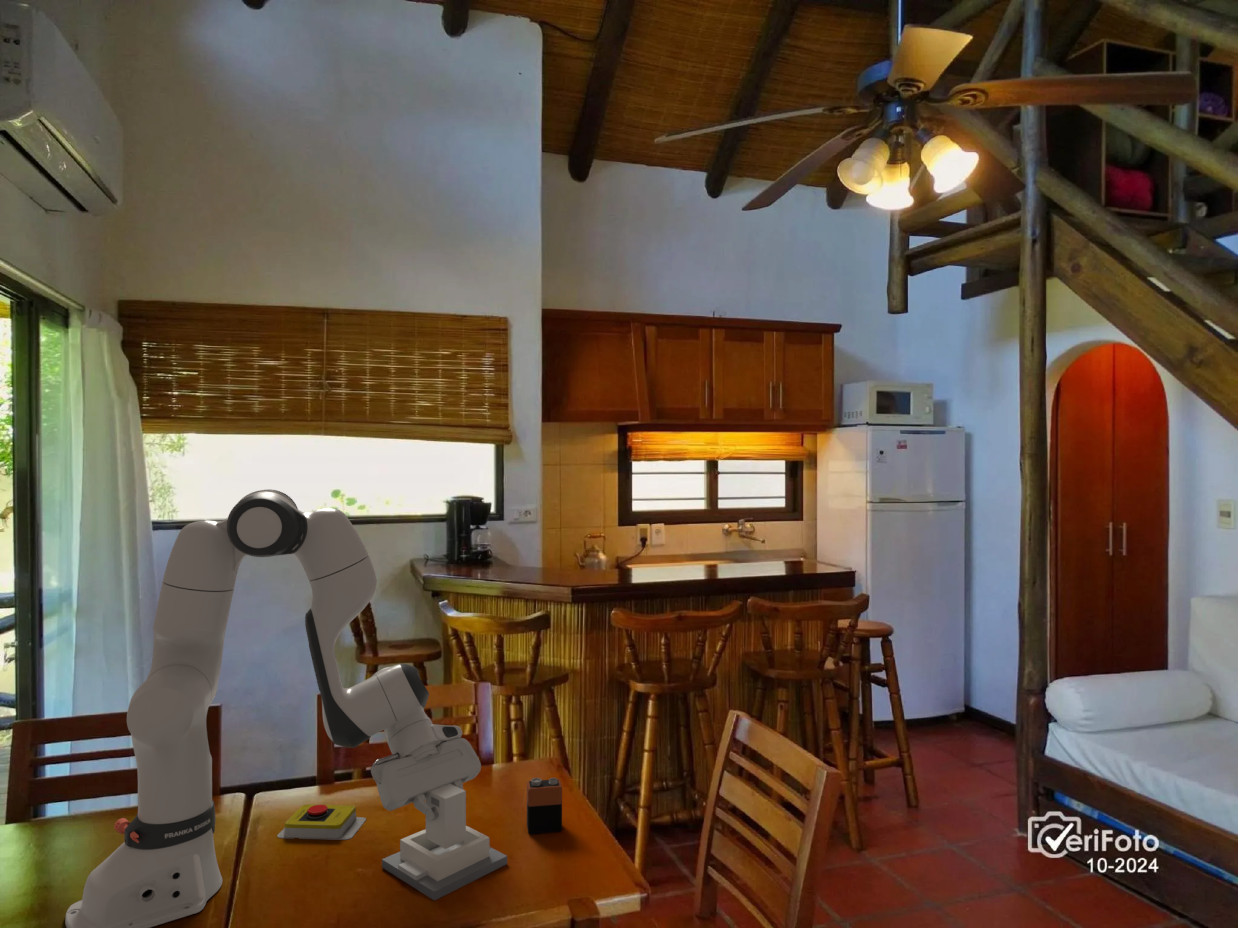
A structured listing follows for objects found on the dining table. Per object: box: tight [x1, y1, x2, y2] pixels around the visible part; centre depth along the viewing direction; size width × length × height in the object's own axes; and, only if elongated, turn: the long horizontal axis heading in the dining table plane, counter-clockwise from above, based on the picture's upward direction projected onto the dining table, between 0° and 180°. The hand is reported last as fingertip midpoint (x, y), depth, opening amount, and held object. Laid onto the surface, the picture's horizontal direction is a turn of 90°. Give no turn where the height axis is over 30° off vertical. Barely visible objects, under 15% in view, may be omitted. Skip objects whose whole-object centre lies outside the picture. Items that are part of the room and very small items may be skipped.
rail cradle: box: [381, 825, 508, 901], centre depth 143 cm, size 16×16×5 cm
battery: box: [526, 777, 563, 835], centre depth 158 cm, size 4×7×10 cm, turn 101°
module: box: [425, 783, 467, 849], centre depth 143 cm, size 5×6×9 cm
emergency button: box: [276, 804, 367, 841], centre depth 158 cm, size 9×4×15 cm
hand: (447, 813), depth 143 cm, fingers closed on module, 4 cm apart
